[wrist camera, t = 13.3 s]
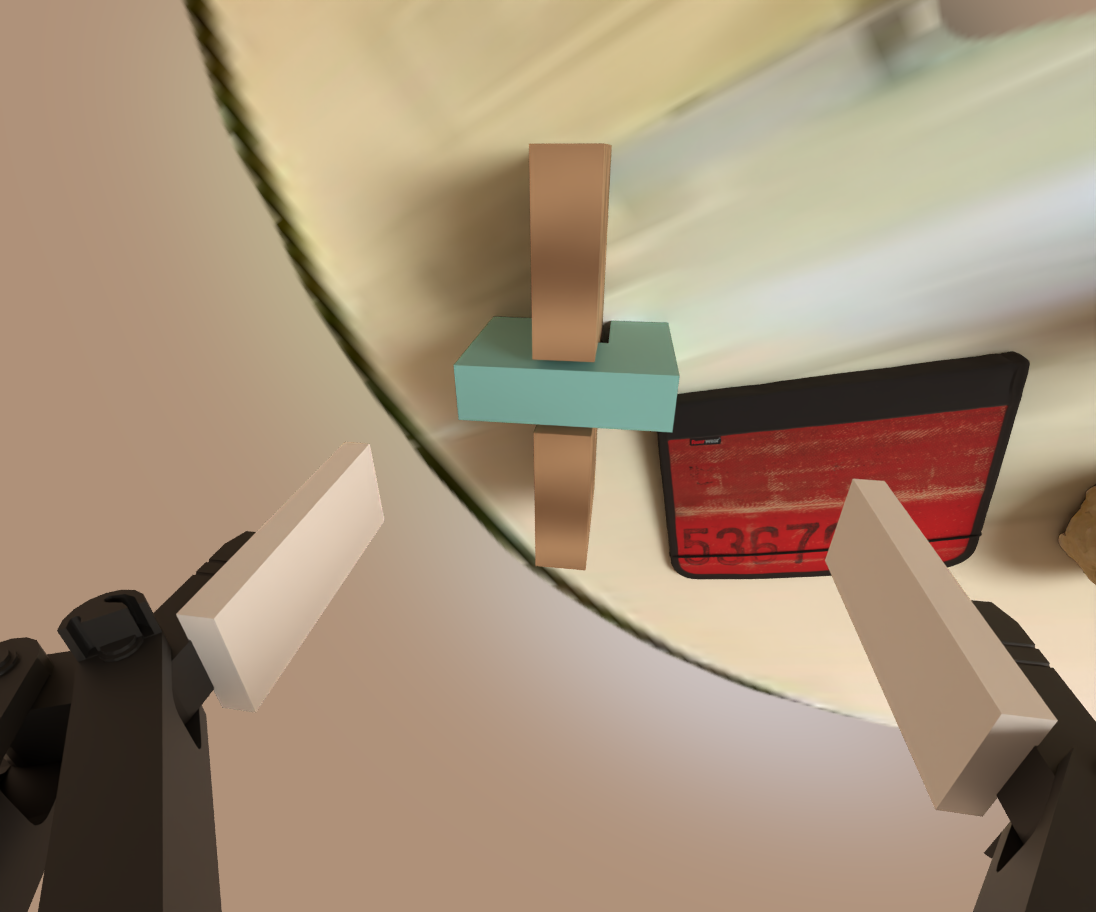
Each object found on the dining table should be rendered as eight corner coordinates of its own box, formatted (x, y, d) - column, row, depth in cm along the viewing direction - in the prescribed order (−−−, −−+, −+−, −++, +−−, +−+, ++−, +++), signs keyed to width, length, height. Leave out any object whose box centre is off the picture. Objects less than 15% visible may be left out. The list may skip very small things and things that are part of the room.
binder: (652, 407, 34) (1037, 360, 30) (651, 392, 36) (1011, 344, 32) (673, 589, 42) (978, 572, 38) (671, 568, 44) (961, 549, 40)
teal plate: (495, 361, 36) (458, 419, 28) (493, 316, 34) (453, 365, 27) (662, 369, 35) (672, 432, 27) (668, 322, 33) (679, 375, 25)
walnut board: (556, 145, 29) (528, 143, 21) (611, 145, 29) (604, 143, 21) (554, 485, 40) (535, 565, 32) (594, 488, 40) (585, 570, 32)
